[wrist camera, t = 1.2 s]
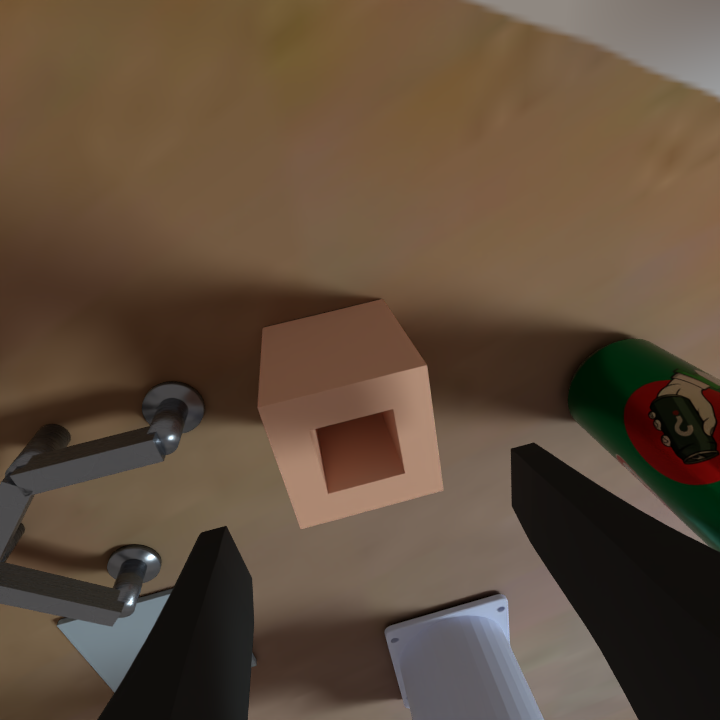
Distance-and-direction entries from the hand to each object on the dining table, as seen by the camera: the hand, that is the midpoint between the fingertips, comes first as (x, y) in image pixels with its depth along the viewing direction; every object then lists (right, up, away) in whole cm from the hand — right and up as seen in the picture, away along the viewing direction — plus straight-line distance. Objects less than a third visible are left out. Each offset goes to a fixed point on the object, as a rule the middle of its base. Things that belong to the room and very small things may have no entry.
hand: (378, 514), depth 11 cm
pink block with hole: (-2, +4, +8) cm, 9 cm away
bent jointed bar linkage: (-12, -3, +9) cm, 16 cm away
